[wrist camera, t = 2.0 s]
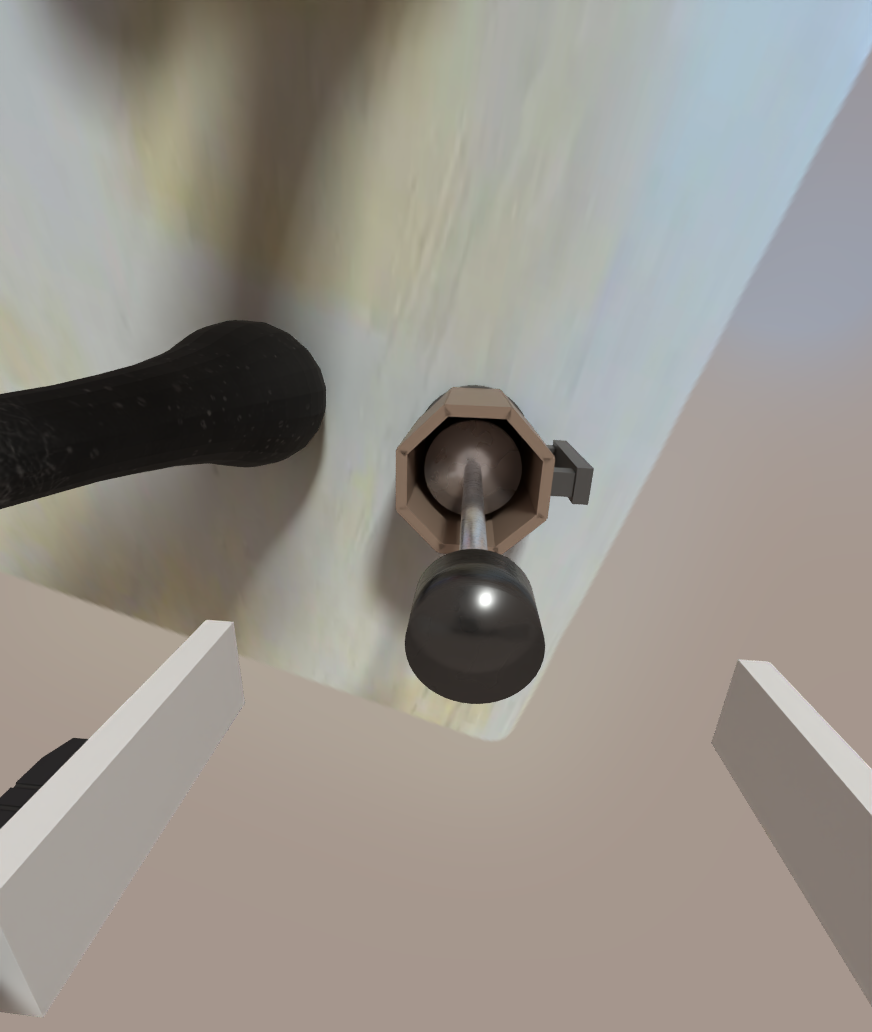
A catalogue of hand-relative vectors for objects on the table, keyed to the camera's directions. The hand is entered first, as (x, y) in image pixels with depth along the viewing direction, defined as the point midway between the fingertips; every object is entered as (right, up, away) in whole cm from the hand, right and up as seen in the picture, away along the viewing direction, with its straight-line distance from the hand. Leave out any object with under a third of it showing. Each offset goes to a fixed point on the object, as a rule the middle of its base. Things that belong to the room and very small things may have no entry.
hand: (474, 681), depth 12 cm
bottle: (-15, +16, +28) cm, 35 cm away
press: (+3, +11, +28) cm, 31 cm away
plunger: (+2, +8, +20) cm, 22 cm away
